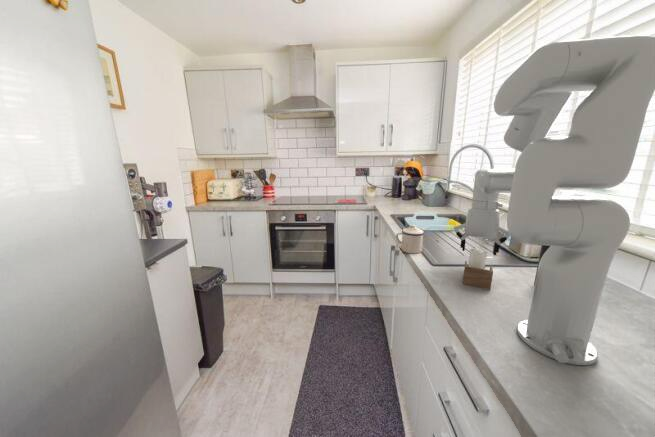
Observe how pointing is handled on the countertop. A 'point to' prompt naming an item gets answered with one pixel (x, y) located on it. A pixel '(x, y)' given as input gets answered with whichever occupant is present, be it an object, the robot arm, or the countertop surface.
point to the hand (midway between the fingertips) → (478, 252)
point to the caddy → (477, 277)
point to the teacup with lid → (411, 239)
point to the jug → (477, 258)
